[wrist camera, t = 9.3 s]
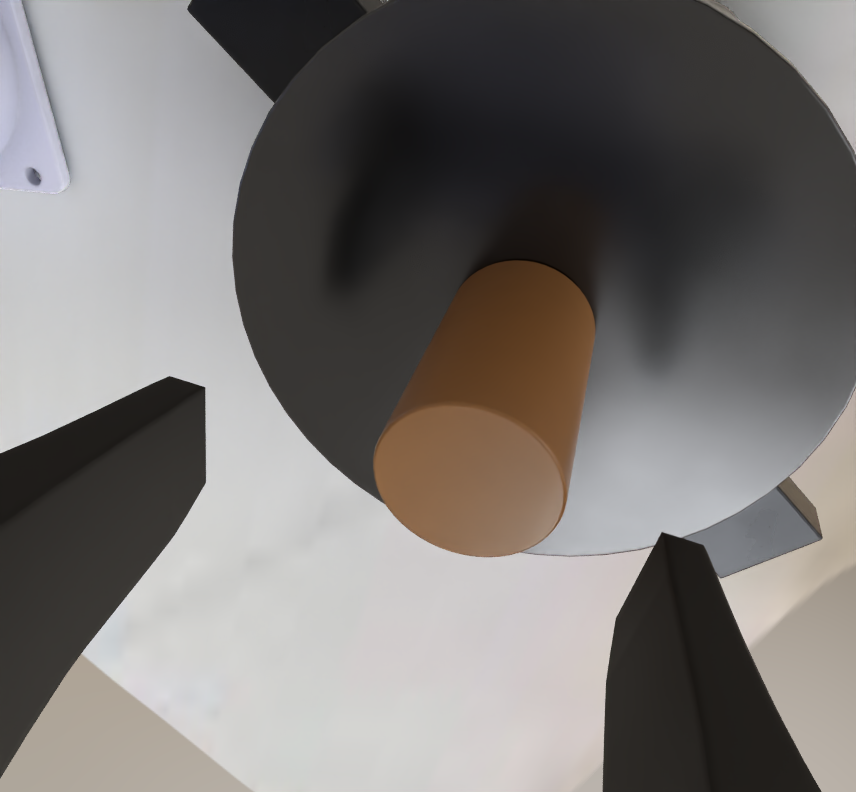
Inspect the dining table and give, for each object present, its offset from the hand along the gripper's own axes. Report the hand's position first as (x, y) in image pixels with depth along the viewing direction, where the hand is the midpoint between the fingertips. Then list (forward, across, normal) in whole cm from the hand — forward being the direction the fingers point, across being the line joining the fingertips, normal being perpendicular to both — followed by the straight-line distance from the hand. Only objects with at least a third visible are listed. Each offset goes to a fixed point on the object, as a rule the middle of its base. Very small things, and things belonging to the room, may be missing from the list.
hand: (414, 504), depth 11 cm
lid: (+4, -1, -2) cm, 4 cm away
